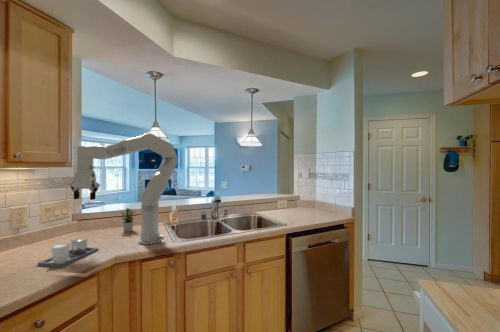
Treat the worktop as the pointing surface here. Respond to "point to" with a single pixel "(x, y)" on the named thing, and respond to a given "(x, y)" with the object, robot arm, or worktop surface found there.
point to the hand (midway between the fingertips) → (84, 199)
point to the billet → (79, 246)
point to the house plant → (127, 220)
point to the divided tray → (71, 259)
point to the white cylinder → (60, 253)
